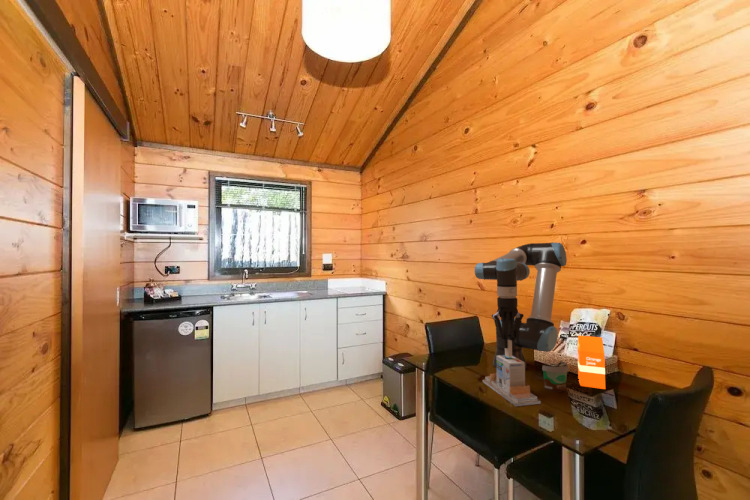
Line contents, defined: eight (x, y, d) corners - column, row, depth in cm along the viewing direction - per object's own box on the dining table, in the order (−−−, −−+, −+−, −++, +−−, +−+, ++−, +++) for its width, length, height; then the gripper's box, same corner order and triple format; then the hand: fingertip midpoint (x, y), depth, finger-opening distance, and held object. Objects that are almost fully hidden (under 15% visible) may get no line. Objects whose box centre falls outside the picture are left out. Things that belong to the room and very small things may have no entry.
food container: (556, 395, 129) (556, 369, 129) (542, 389, 134) (541, 365, 134) (576, 389, 134) (575, 364, 135) (561, 384, 140) (560, 360, 140)
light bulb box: (496, 381, 137) (495, 355, 138) (511, 380, 138) (510, 354, 139) (510, 391, 127) (509, 363, 127) (526, 390, 128) (525, 362, 128)
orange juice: (578, 379, 145) (576, 333, 145) (602, 382, 141) (601, 335, 141) (580, 385, 138) (578, 337, 138) (605, 389, 134) (604, 339, 134)
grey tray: (503, 380, 145) (503, 368, 145) (540, 403, 121) (540, 390, 122) (482, 382, 143) (482, 370, 143) (516, 406, 120) (515, 392, 120)
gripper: (497, 298, 128) (498, 360, 128) (527, 297, 131) (529, 357, 130) (487, 296, 136) (488, 354, 135) (516, 295, 138) (517, 352, 138)
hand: (508, 355), depth 133 cm, fingers closed
